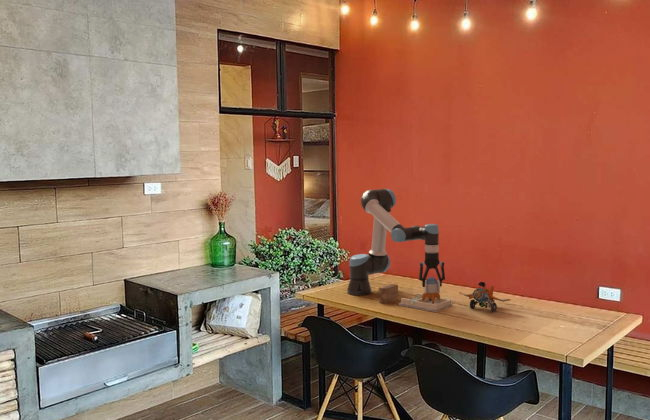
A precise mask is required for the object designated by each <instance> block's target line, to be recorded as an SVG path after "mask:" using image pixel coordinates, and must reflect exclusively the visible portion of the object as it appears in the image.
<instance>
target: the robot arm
mask: <svg viewBox="0 0 650 420" xmlns="http://www.w3.org/2000/svg"><path fill="white" fill-rule="evenodd" d="M360 197H361V198H360V205H361V207H362V209H363V210H364V211H365V213H367V214H370V215H371V216H373V223H372V225H373V227H372V237H371V238H372V239H371V247H370V250H369V251H368V254H366V253H360V254H359V253H358V254H354V255H352V256H350V258H349V264H348V265H349V283H348V286H347V291H346V292H347V294H349V295H351V296H364V295H365V296H366V295H370V294H371V293H372V291H373V289H372V287H371V283H370V279H369V275H375V274H382V273H385V272H387V271H388V270H389V269H390V266H391V260H390V255H388V252H387V251H386V243H387V242H386V241H387V231H388V232H389V233H390V238H391V239H392V242H395V243H403V242H404V243H405V242H409V241H419V240H421V241H424V251H425V252H424V261H423V262H419V273H418V274H419V275H418V280H419V281H420V282H421V284H422V285H421V286H422V288H423V293H427V292H426V280H427V276H428V274H429V272H430V270H432V269H433V270H435V273H436V276H437V279H438V280H437V283H438V293H439V294H440V293H441V288H442V286H443V281H444V280H446V277H445V276H446V275H445V262H444V261H440V259H439V258H440V253H439V250H440V249H439V243H440V242H439V239H440V238H439V236H440V235H439V234H440V231H439V225H438V224H436V223H427V224H425V225H424V226H420V225H412V226H410V227H404V225H402V223H400V222H399V221H398V220H397V219H396V218H394V216H393V215H391V214H390V213H391V212H392V208H394V206H395V205H396V203H397V199H396V194H395V193H394V191H392V189H389V188H379V189H378V188H377V189H367V190H365V192H363V193H362V195H361V196H360ZM439 265H440V271H439V269H438V266H439ZM425 266H426V267H425ZM424 267H425V271H424Z"/></svg>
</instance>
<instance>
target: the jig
mask: <svg viewBox="0 0 650 420" xmlns="http://www.w3.org/2000/svg"><path fill="white" fill-rule="evenodd" d="M422 295H423V293H420V292H417V293H416V297H413V298H411V299H409V298H405V297H401V298H400V302H398V306H400V307H406V308H411V309H416V310H421V311H428V312H432V313H437V312H439V311H442V310H445V309H446V308H449V307H452V306H453V303H452V299H447V298H443V297H440V300H438V299H437V298H435V299H434V304H432V301H431V300H429V298H428V297H426V298H425V300H424V301H423V300H422Z"/></svg>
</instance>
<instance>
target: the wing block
mask: <svg viewBox="0 0 650 420" xmlns="http://www.w3.org/2000/svg"><path fill="white" fill-rule="evenodd" d="M398 300H399V284H394V283H389V284H385V285H383V286H379V287H378V303H379V304H384V305H387V304H390V303H392V302H395V301H398Z"/></svg>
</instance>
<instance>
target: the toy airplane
mask: <svg viewBox="0 0 650 420" xmlns="http://www.w3.org/2000/svg"><path fill="white" fill-rule="evenodd" d="M494 288H495V287H494V285H492V286H490V289H488V288H487V287H486V282H484V281H480V282H478V288H476V289H474V291H473V292H472V293H468V294H465V293H463V292H460V291H459V292H458V294H461V295H462V296H464V297H468V299H469V300H470V301H469V308H470V309H472V310H473V309H476V308H475V307H476V306H477V304H478V306H479V307H480V308H484V309H488V307H489V308H490V311H491V312H492V313H495V312H496V311H497V309H498V308H497V306H498V305H497V303H496V302H495V301H499V302H503V303H504V302H508V301H512V299H511V298H510V299H509V298H504V299H501V298H498V297H495V296H494Z"/></svg>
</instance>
